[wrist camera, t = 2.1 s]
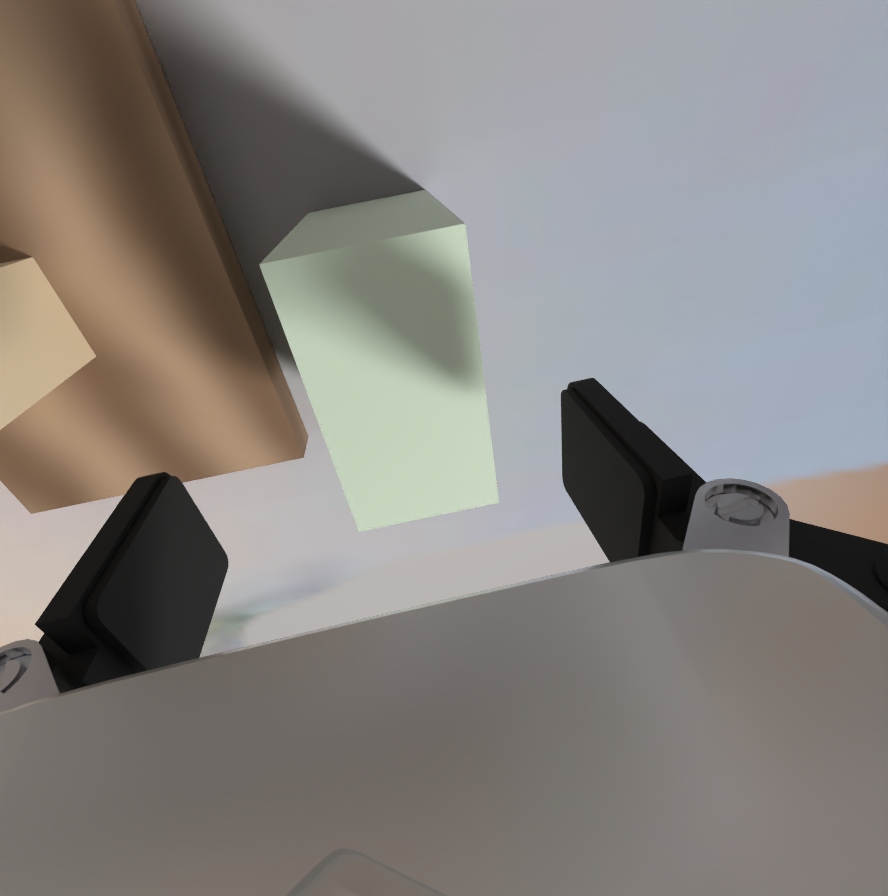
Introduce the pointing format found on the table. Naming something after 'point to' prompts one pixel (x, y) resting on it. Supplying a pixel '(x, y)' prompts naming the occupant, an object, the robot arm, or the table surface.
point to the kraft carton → (34, 339)
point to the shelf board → (125, 269)
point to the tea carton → (389, 354)
